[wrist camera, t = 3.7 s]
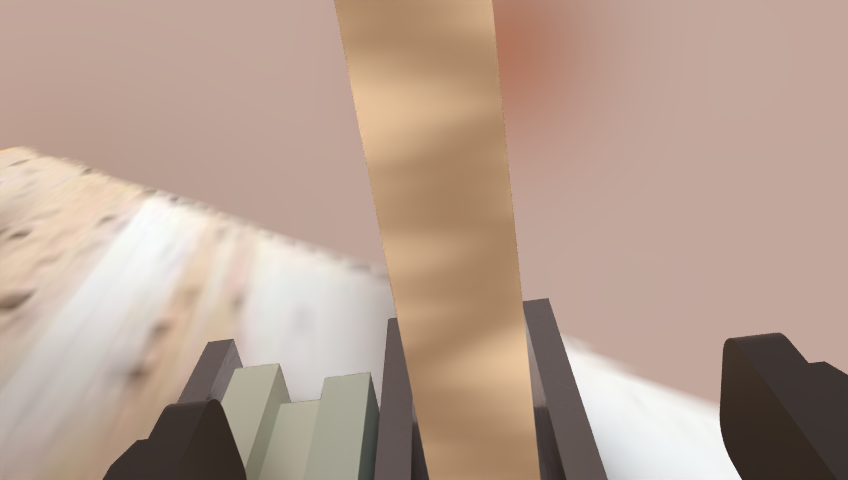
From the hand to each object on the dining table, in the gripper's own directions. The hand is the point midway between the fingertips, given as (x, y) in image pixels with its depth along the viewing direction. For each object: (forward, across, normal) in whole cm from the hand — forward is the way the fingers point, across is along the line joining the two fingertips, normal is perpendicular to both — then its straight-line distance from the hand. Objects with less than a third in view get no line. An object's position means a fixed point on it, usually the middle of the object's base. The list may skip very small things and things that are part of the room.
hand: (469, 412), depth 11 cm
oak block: (+6, 0, +11) cm, 12 cm away
